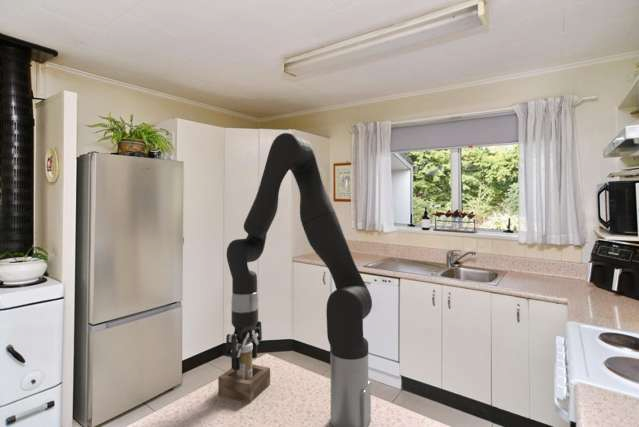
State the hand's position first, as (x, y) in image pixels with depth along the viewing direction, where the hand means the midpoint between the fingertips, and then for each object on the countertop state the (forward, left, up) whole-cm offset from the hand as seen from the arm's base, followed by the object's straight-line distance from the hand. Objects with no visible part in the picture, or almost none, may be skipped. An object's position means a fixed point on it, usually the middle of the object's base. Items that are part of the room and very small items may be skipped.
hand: (244, 363), depth 97 cm
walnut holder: (0, 0, -8) cm, 8 cm away
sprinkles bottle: (0, 0, -8) cm, 8 cm away
